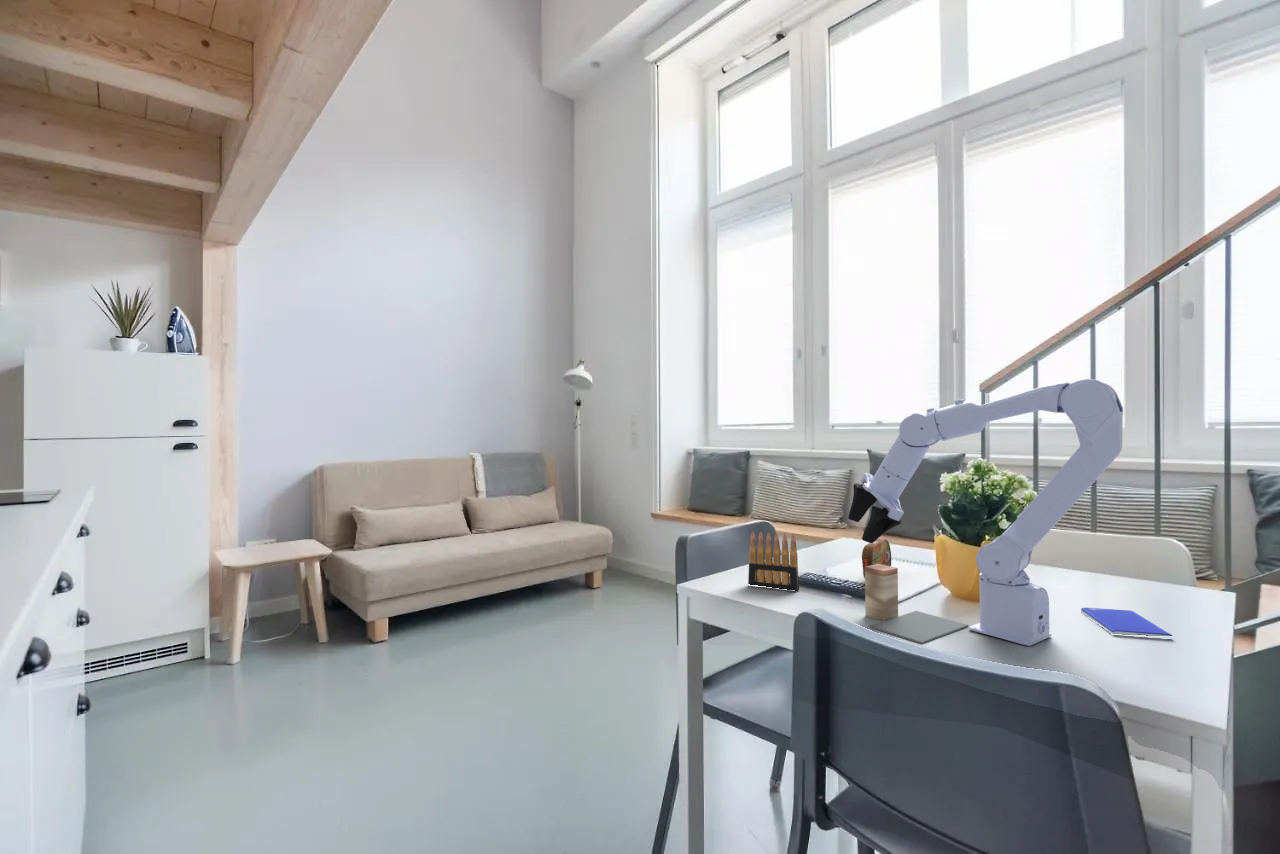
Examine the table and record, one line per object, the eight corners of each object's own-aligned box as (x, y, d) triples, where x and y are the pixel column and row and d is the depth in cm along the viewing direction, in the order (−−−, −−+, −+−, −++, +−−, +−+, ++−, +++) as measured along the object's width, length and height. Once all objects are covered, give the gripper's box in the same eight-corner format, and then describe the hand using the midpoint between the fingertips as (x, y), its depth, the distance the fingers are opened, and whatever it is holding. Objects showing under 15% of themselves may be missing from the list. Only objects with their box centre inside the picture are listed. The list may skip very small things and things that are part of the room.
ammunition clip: (748, 586, 130) (747, 531, 130) (750, 584, 132) (749, 530, 132) (797, 591, 125) (797, 535, 125) (799, 589, 127) (798, 533, 127)
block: (898, 617, 108) (897, 567, 108) (884, 621, 106) (884, 571, 106) (878, 611, 112) (878, 563, 112) (865, 615, 109) (864, 566, 109)
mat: (968, 626, 103) (968, 624, 103) (921, 643, 95) (921, 642, 95) (916, 612, 111) (916, 610, 111) (869, 627, 103) (869, 625, 103)
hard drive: (1080, 607, 109) (1112, 629, 98) (1133, 610, 107) (1173, 634, 95) (1080, 615, 109) (1112, 639, 98) (1134, 619, 107) (1173, 643, 95)
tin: (874, 586, 129) (874, 547, 129) (859, 584, 131) (859, 546, 131) (892, 572, 141) (892, 536, 141) (879, 570, 143) (878, 535, 143)
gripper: (862, 449, 118) (830, 505, 122) (892, 483, 104) (854, 545, 109) (893, 460, 119) (860, 515, 123) (927, 495, 105) (888, 556, 110)
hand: (859, 530), depth 116 cm, fingers open, 7 cm apart
